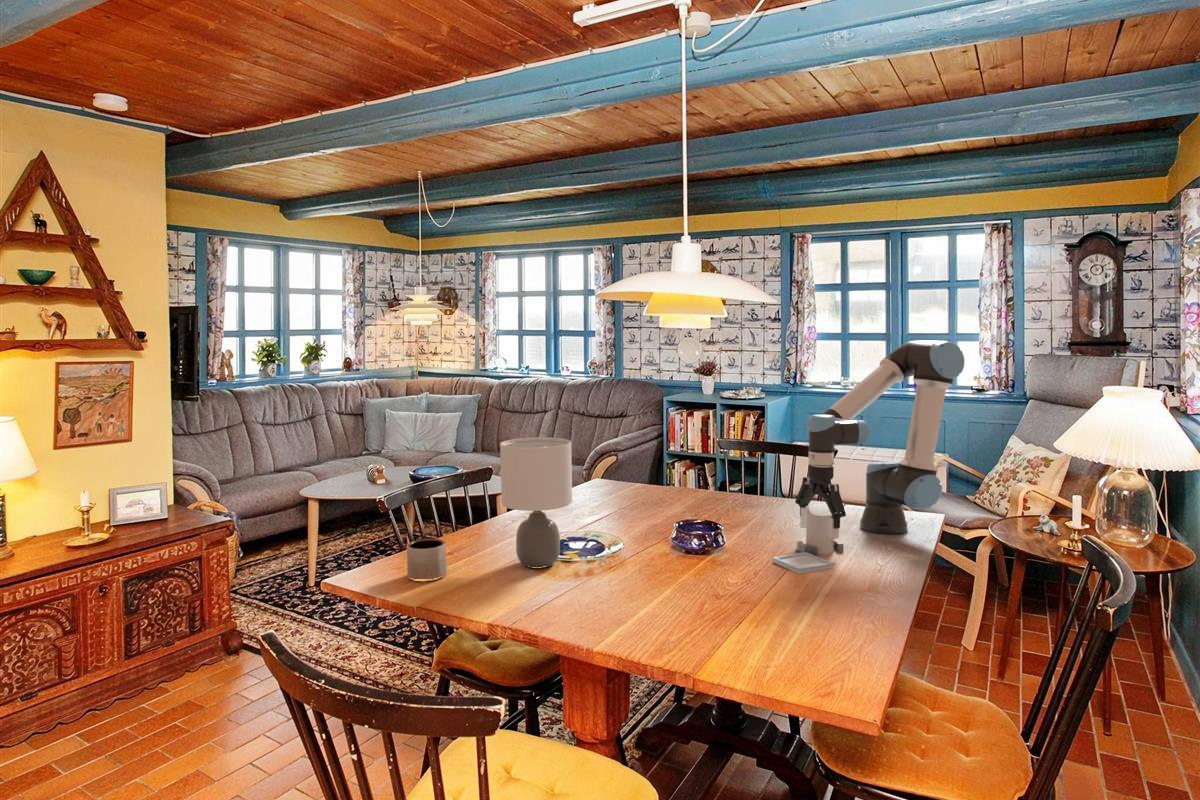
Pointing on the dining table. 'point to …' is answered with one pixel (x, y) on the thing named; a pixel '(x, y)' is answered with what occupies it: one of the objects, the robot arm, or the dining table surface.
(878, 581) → the dining table surface
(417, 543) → the planter
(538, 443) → the lamp
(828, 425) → the robot arm
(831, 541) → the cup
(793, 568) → the tray
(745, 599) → the dining table surface
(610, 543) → the dining table surface
